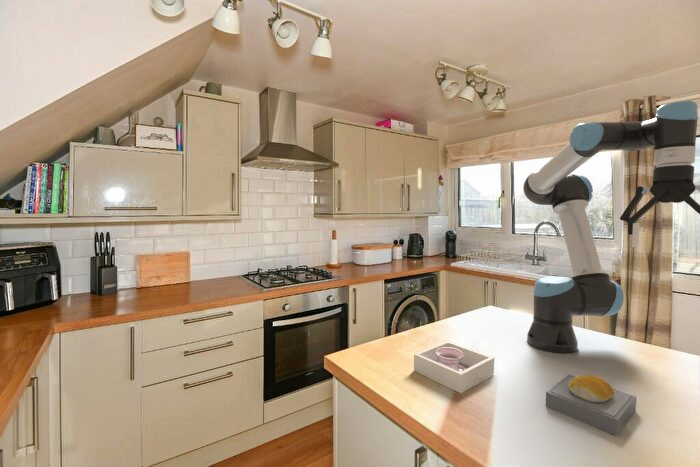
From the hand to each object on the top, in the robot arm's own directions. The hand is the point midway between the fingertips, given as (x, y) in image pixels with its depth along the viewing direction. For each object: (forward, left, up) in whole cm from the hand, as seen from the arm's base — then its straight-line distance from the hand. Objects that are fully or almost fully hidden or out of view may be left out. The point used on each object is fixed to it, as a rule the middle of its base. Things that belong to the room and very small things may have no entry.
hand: (668, 249), depth 88 cm
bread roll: (-8, -26, -33) cm, 43 cm away
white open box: (-39, -36, -37) cm, 65 cm away
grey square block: (-8, -26, -37) cm, 46 cm away
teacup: (-40, -37, -37) cm, 66 cm away
